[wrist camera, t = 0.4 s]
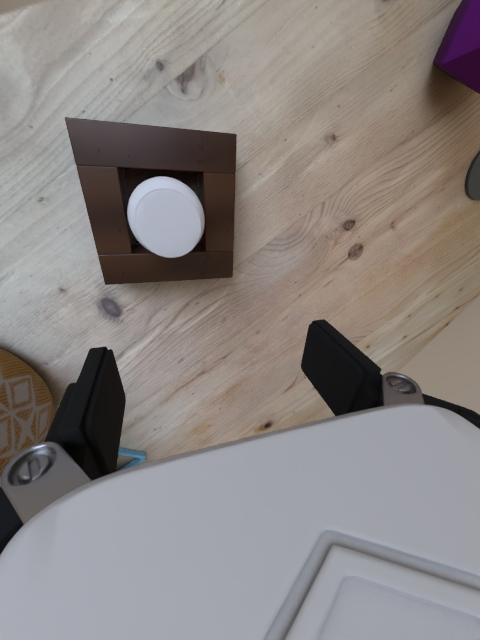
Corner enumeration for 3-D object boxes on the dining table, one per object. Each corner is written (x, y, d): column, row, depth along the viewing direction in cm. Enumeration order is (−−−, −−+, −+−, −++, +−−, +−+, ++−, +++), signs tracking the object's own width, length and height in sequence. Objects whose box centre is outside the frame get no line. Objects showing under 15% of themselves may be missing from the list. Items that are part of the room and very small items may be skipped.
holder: (80, 127, 22) (64, 117, 18) (225, 140, 25) (236, 134, 22) (112, 270, 28) (105, 284, 25) (223, 265, 32) (232, 277, 28)
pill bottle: (199, 232, 29) (219, 257, 20) (147, 243, 28) (141, 276, 19) (185, 171, 26) (200, 168, 17) (125, 182, 25) (106, 185, 16)
